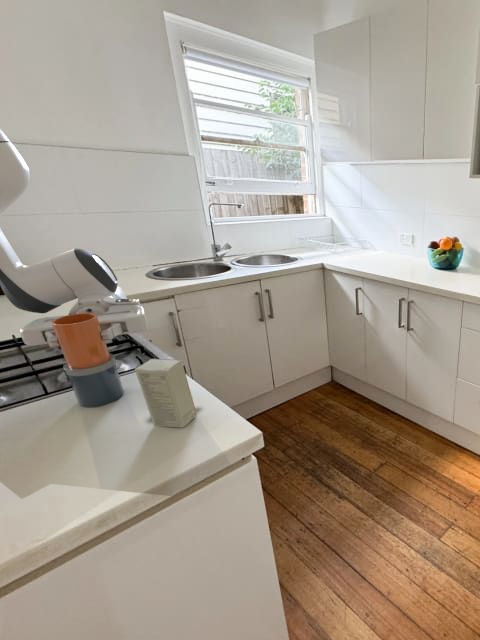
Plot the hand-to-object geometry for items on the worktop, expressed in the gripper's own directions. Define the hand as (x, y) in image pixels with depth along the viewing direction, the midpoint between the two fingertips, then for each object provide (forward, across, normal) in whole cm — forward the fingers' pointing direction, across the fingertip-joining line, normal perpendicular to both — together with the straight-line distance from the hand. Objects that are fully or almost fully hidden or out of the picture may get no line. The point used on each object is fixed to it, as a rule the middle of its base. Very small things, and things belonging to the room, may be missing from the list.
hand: (80, 339), depth 73 cm
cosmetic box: (+15, +14, +14) cm, 24 cm away
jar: (-1, 0, +13) cm, 13 cm away
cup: (-1, 0, +5) cm, 5 cm away
